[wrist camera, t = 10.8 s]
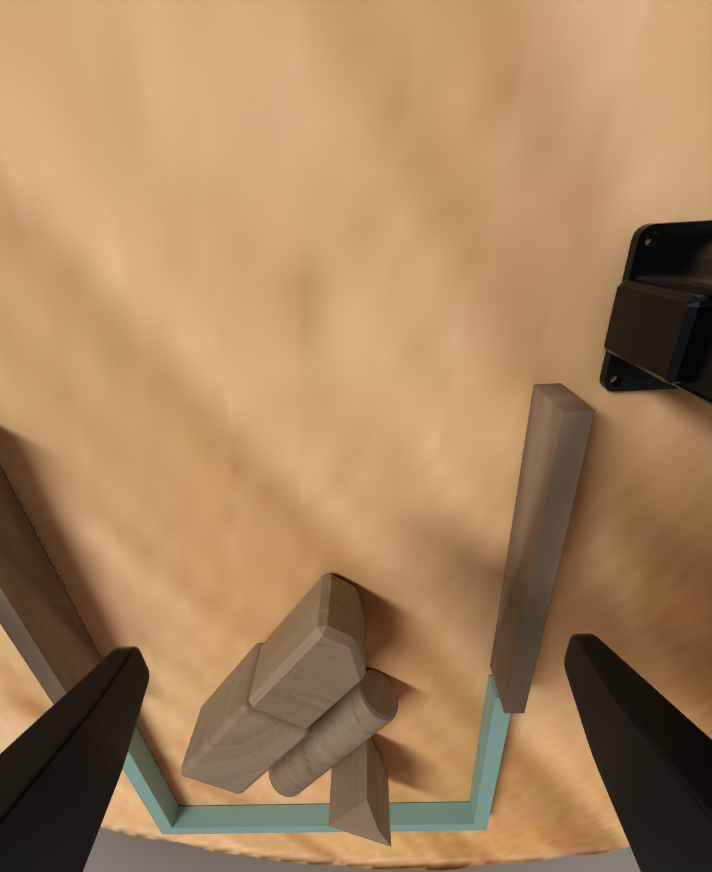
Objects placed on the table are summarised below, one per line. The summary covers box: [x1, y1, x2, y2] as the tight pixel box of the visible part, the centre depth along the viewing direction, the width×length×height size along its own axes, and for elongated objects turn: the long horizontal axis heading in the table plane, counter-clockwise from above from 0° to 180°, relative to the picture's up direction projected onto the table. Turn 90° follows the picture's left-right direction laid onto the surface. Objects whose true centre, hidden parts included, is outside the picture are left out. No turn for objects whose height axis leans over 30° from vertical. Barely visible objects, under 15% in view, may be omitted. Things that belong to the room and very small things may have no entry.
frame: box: [123, 675, 511, 834], centre depth 32 cm, size 28×19×2 cm
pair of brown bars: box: [0, 383, 595, 713], centre depth 22 cm, size 28×20×3 cm
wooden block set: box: [181, 574, 398, 846], centre depth 27 cm, size 17×6×18 cm
